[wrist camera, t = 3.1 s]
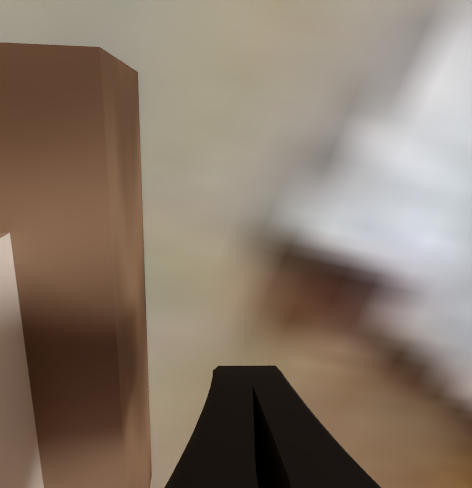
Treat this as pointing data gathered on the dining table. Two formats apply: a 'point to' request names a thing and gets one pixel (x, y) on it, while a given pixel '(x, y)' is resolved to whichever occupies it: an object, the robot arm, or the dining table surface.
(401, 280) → the dining table surface
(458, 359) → the dining table surface
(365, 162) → the dining table surface
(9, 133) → the riser
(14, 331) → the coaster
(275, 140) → the dining table surface
